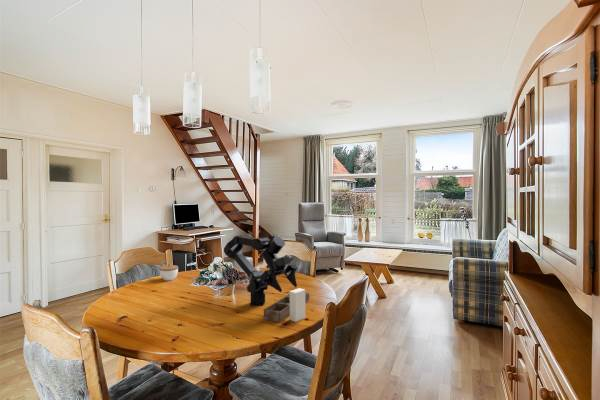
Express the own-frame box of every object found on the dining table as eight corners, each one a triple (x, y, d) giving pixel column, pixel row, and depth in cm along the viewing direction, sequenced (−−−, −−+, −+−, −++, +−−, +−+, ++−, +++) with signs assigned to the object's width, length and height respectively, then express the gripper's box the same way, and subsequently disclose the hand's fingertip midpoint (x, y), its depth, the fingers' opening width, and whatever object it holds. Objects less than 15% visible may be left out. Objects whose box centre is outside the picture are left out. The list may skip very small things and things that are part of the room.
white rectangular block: (289, 319, 127) (289, 291, 127) (299, 315, 131) (299, 288, 131) (295, 322, 125) (295, 293, 124) (305, 317, 129) (305, 289, 129)
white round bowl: (172, 282, 183) (172, 266, 183) (156, 281, 185) (155, 266, 185) (181, 277, 194) (181, 262, 194) (166, 276, 195) (166, 262, 195)
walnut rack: (263, 318, 128) (263, 309, 128) (294, 298, 153) (294, 290, 153) (280, 322, 124) (280, 312, 124) (309, 300, 150) (309, 292, 150)
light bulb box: (246, 272, 207) (246, 256, 207) (253, 273, 203) (253, 257, 203) (234, 275, 199) (234, 258, 199) (240, 277, 194) (240, 260, 194)
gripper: (264, 252, 128) (282, 283, 121) (294, 246, 142) (312, 274, 134) (252, 267, 133) (269, 298, 126) (283, 261, 147) (300, 288, 140)
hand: (288, 289), depth 131 cm, fingers open, 9 cm apart
